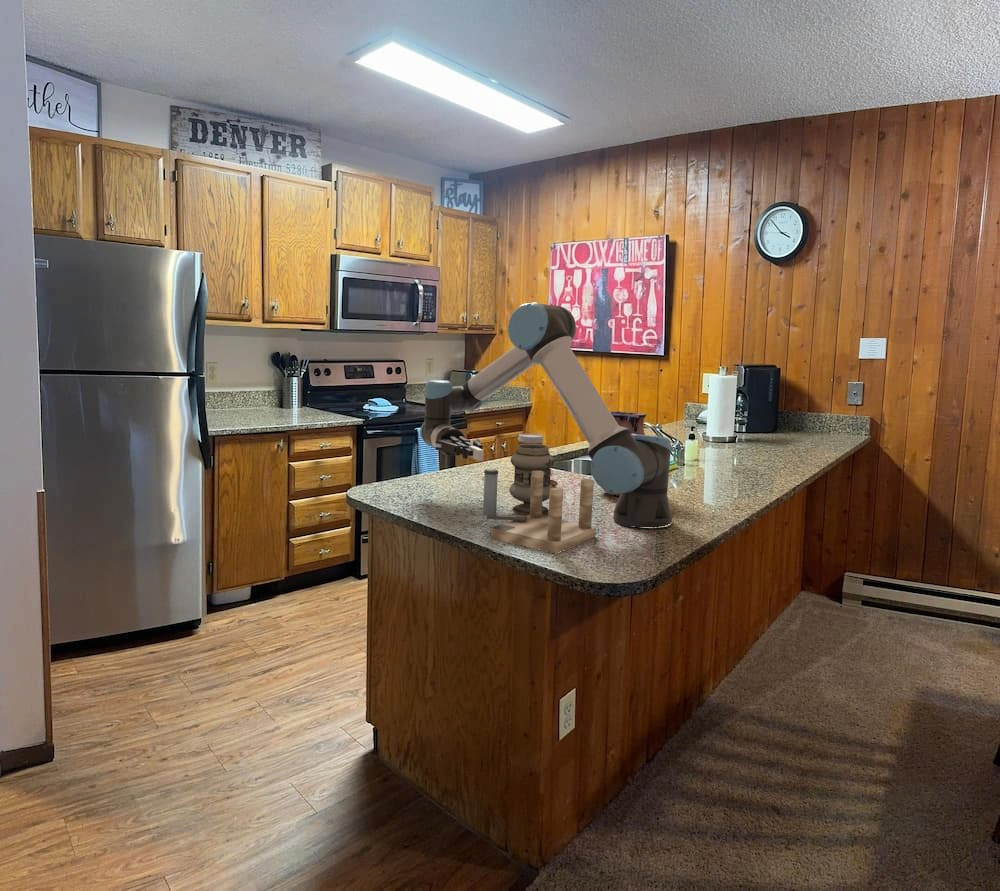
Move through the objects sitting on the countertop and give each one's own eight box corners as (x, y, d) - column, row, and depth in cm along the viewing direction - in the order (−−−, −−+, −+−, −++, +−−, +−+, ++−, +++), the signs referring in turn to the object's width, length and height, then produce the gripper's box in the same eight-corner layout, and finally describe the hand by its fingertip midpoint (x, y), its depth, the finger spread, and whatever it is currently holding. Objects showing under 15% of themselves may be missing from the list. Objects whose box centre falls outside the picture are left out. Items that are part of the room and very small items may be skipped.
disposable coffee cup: (548, 468, 256) (549, 436, 254) (530, 471, 249) (532, 438, 247) (528, 464, 262) (529, 432, 260) (510, 467, 255) (512, 434, 253)
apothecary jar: (501, 506, 197) (504, 442, 194) (540, 504, 201) (543, 441, 198) (519, 517, 186) (522, 450, 183) (560, 514, 190) (564, 448, 188)
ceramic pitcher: (613, 502, 207) (618, 417, 203) (576, 487, 226) (581, 409, 222) (662, 498, 214) (668, 416, 211) (623, 484, 233) (628, 408, 230)
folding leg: (527, 518, 174) (529, 471, 172) (526, 522, 171) (528, 474, 169) (483, 515, 175) (485, 468, 173) (481, 519, 172) (483, 471, 170)
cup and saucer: (520, 482, 230) (521, 464, 230) (557, 485, 229) (558, 466, 228) (517, 490, 219) (518, 471, 218) (556, 493, 218) (557, 473, 217)
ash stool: (595, 537, 170) (599, 480, 168) (556, 554, 156) (559, 491, 154) (532, 523, 180) (535, 469, 178) (490, 538, 166) (492, 479, 164)
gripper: (469, 452, 200) (503, 469, 179) (425, 454, 195) (455, 471, 174) (470, 426, 199) (505, 440, 178) (426, 427, 194) (456, 441, 173)
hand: (480, 455), depth 176 cm, fingers closed
